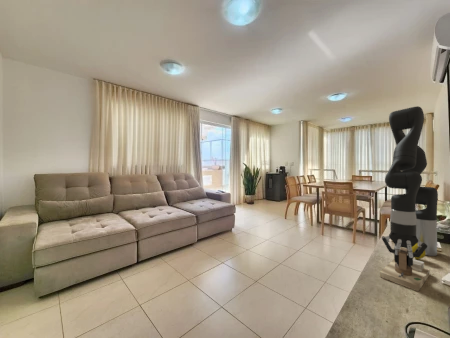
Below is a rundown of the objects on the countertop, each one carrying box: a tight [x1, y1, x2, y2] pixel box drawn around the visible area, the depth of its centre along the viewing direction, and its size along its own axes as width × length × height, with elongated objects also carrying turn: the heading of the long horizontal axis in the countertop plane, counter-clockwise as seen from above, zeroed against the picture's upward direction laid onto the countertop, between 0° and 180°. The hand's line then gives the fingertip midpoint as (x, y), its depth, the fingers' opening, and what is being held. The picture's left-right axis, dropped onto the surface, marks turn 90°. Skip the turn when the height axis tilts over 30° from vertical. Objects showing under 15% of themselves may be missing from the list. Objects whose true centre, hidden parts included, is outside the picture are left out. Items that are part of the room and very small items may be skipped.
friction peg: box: [395, 247, 412, 276], centre depth 75 cm, size 8×5×8 cm, turn 133°
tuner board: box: [379, 258, 431, 292], centre depth 77 cm, size 18×11×4 cm, turn 124°
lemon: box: [412, 243, 426, 260], centre depth 89 cm, size 6×6×8 cm
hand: (403, 264), depth 75 cm, fingers closed on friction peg, 2 cm apart
